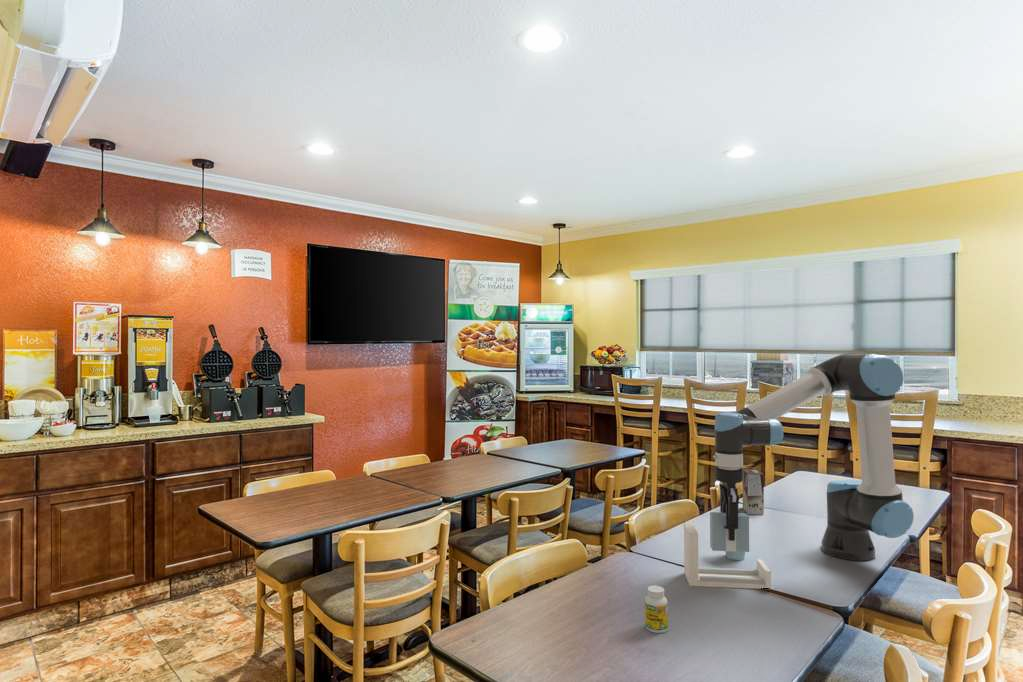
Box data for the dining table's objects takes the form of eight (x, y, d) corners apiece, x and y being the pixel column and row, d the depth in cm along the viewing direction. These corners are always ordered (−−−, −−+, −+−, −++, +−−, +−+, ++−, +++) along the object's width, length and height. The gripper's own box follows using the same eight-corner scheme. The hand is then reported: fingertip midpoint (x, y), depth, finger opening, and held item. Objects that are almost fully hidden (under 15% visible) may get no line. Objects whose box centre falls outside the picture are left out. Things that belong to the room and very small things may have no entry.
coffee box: (764, 515, 230) (764, 474, 230) (747, 514, 231) (747, 473, 231) (758, 508, 239) (757, 468, 239) (741, 507, 240) (741, 468, 240)
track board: (761, 576, 172) (761, 525, 172) (771, 589, 163) (770, 535, 163) (684, 573, 175) (683, 522, 175) (689, 585, 166) (689, 532, 166)
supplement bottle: (669, 624, 144) (668, 585, 144) (666, 635, 139) (666, 595, 139) (646, 621, 146) (646, 582, 146) (643, 631, 141) (643, 591, 141)
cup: (753, 559, 185) (753, 526, 185) (735, 563, 182) (734, 529, 182) (735, 551, 192) (735, 519, 192) (717, 555, 189) (717, 523, 189)
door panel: (745, 547, 170) (745, 513, 170) (749, 551, 166) (749, 516, 166) (710, 546, 171) (709, 512, 171) (712, 550, 168) (712, 515, 168)
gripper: (709, 460, 177) (709, 537, 177) (721, 473, 161) (722, 558, 161) (735, 461, 176) (735, 538, 176) (750, 474, 160) (750, 559, 160)
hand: (729, 548), depth 169 cm, fingers closed on door panel, 3 cm apart
